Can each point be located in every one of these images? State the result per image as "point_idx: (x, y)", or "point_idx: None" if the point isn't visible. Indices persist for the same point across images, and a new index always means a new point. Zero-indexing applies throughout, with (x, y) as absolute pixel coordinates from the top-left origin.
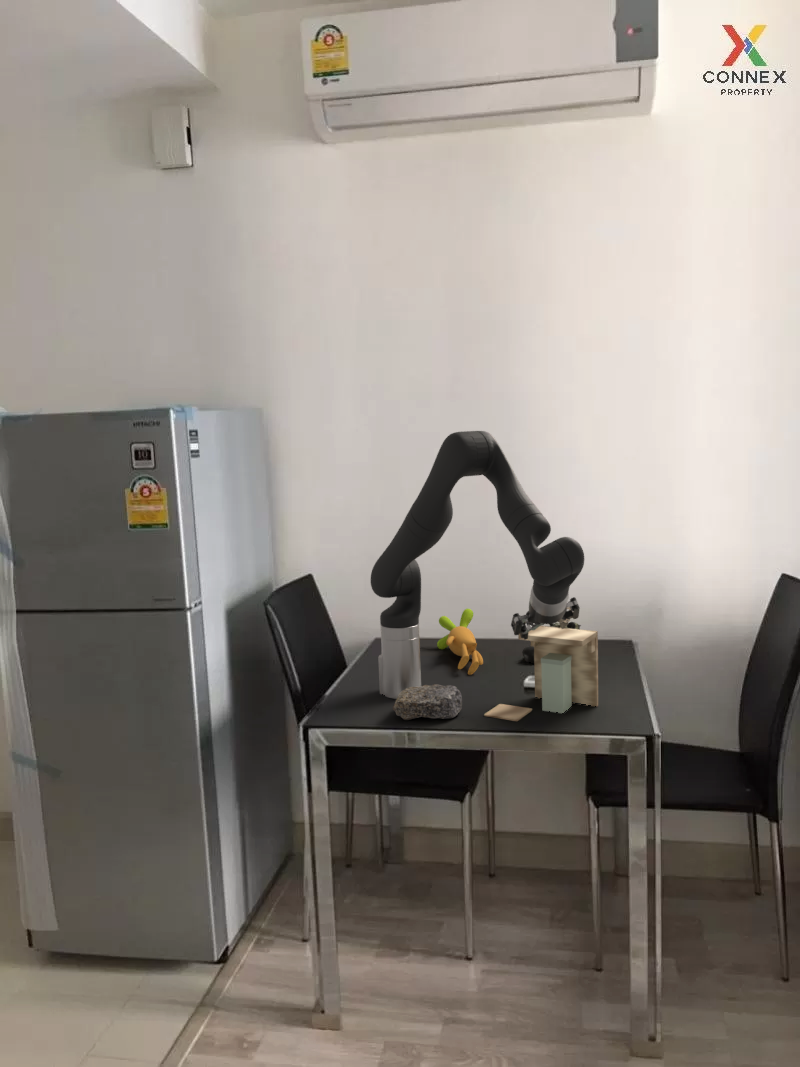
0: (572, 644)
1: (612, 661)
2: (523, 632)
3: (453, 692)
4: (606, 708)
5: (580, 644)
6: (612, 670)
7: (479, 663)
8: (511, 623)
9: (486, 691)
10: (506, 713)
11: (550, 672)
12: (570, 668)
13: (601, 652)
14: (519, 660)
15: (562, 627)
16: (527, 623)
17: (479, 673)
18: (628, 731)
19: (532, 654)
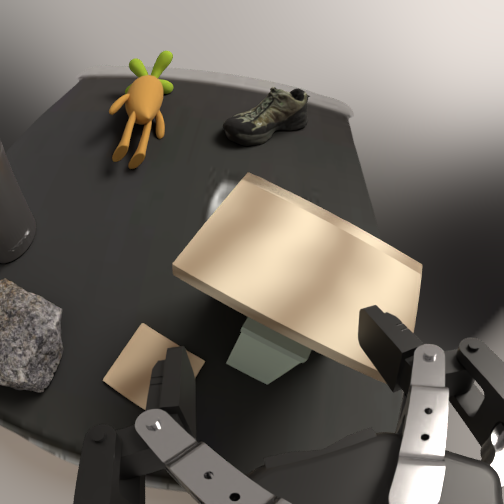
0: (364, 372)
1: (340, 159)
2: (165, 469)
3: (31, 349)
4: None
5: None
6: (344, 186)
7: (157, 136)
8: (82, 458)
9: (134, 242)
10: (147, 384)
11: (261, 351)
12: None
13: (324, 133)
14: (218, 132)
15: (368, 356)
16: (188, 491)
17: (147, 165)
18: None
19: (236, 134)
